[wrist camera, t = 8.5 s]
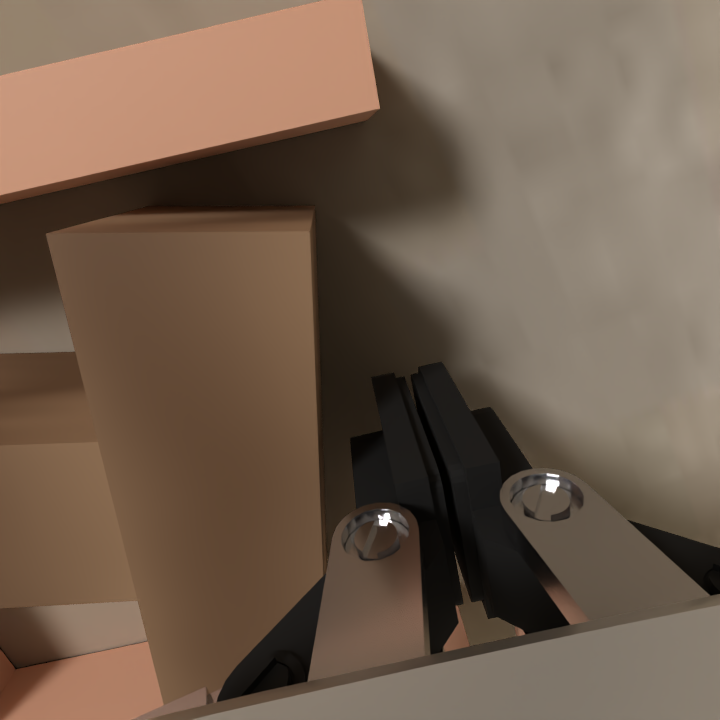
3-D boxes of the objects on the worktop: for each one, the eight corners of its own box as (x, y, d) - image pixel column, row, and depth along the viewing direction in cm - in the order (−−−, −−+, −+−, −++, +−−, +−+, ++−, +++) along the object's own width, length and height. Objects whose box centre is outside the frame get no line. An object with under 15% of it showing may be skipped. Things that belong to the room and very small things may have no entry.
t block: (314, 205, 10) (309, 231, 7) (327, 557, 14) (327, 698, 10) (-157, 207, 10) (-454, 238, 6) (-8, 575, 13) (-132, 731, 10)
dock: (351, 34, 9) (360, -9, 7) (455, 611, 15) (478, 690, 13) (-420, 212, 9) (-664, 230, 7) (-7, 708, 16) (-63, 802, 13)
